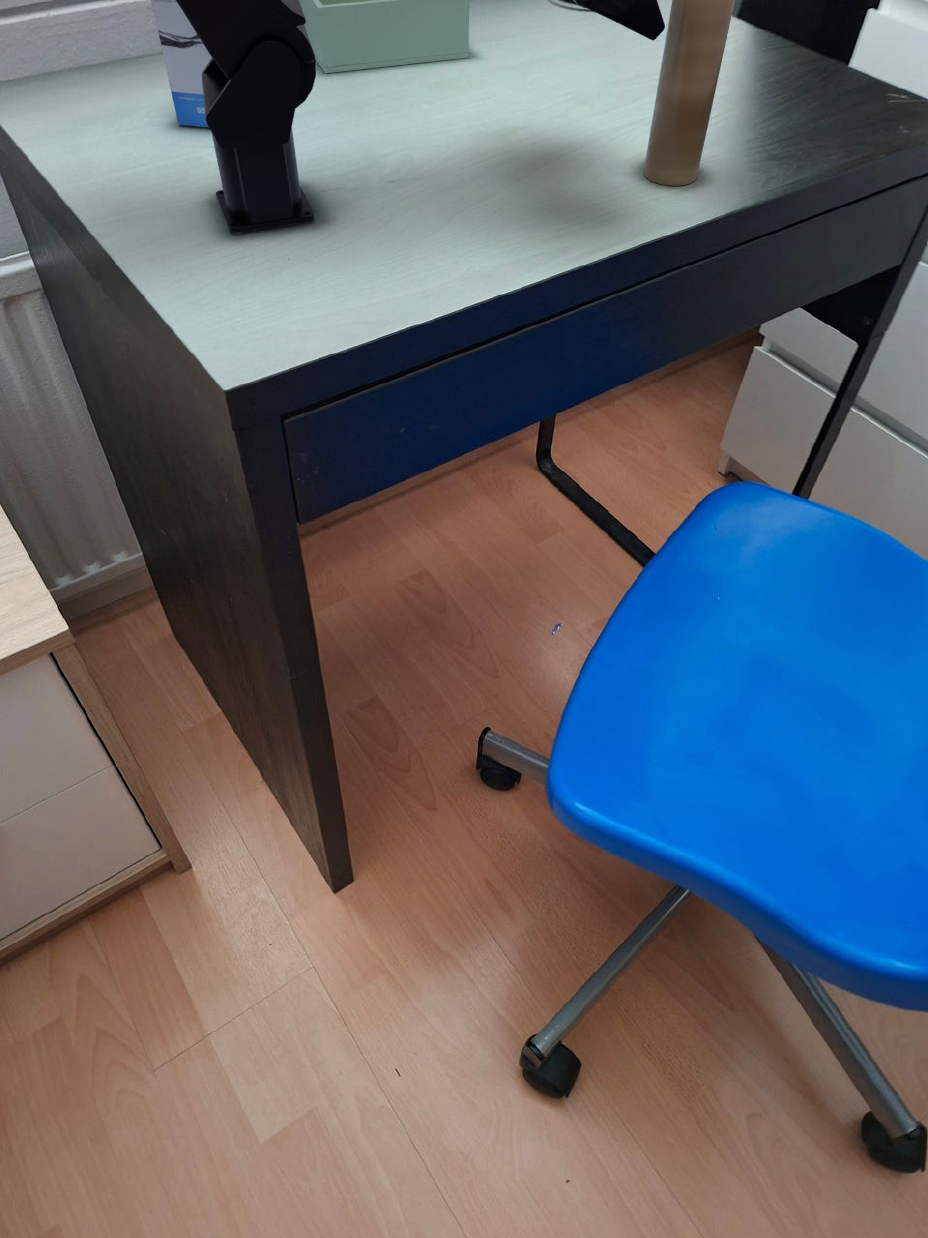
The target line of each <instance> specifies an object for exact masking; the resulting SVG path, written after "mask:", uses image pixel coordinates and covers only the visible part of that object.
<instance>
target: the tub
mask: <svg viewBox="0 0 928 1238" xmlns="http://www.w3.org/2000/svg"><path fill="white" fill-rule="evenodd" d="M299 2H300V5H301V8H302V10H303V13H304V16H305V19H306V23H305V24H304V26H305V29H306V32H307V34H308V37H309V40H310V43H311V46H312V49H313V52H314V55H315V59H316V63H317V64H318V66H319V67H320V69H322V71H323V73H324V74H332V73H333V74H334V73H342V72H352V71H360V70H368V69H377V68H378V69H379V68H386V67H387V68H388V67H395V66H396V67H397V66H405V65H413V64H414V65H415V64H422V63H423V64H424V63H432V62H439V61H440V62H441V61H449V60H456V59H457V60H458V59H468V58H469V57H470V56H469V54H470V53H469V51H470V49H469V48H470V43H469V42H470V0H299Z"/></svg>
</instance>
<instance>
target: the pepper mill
mask: <svg viewBox="0 0 928 1238" xmlns="http://www.w3.org/2000/svg"><path fill="white" fill-rule="evenodd" d="M735 2H736V0H671V6H670V10H669V17H668V22H667V27H666V34H665V41H664V45H663V53H662V60H661V64H660V70H659V76H658V82H657V87H656V94H655V101H654V107H653V111H652V112H653V113H652V119H651V125H650V129H649V130H650V131H649V137H648V143H647V148H646V155H645V161H644V166H643V175H644V177H645V178H646V179H647V180H649V181H651V182H653V183H656V184H659V185H663V186H671V187H679V186H680V187H681V186H686V185H689V184H693V183H694V182H695V181H696V180H697V179H698V175H699V170H700V165H701V161H702V155H703V150H704V146H705V141H706V136H707V133H708V128H709V122H710V117H711V114H712V108H713V105H714V100H715V95H716V90H717V85H718V81H719V77H720V71H721V69H722V68H721V67H722V62H723V58H724V53H725V50H726V43H727V39H728V35H729V31H730V25H731V21H732V16H733V11H734V7H735Z"/></svg>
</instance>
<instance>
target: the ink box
mask: <svg viewBox="0 0 928 1238" xmlns="http://www.w3.org/2000/svg"><path fill="white" fill-rule="evenodd" d="M150 1H151V6H152V9H153V15H154V20H155V24H156V28H157V33H158V38H159V42H160V46H161V52H162V56H163V60H164V65H165V70H166V75H167V78H168V83H169V89H170V93H171V97H172V102H173V107H174V111H175V116H176V122H177V124H178V125H181V126H191V127H193V126H194V127H202V128H203V127H204V128H209V126H208V124H207V123H206V118H205V108H204V97H203V87H202V72H203V70H204V69H205V67H206V66H207V64H208V63H209V61H210V60H211V58H212V57H211V55H210V54H209V52H208V51H207V49H206V48H205V46H204V44H203V43H202V41H201V40H200V38H199V36H198V35H197V33H196V32H195V30H194V28H193V27H192V25H191V24H190V22H189V20H188V19H187V17H186V16H185V14H184V12H183V11H182V9H181V7H180V6H179V4H178V3H177V2H176V0H150Z"/></svg>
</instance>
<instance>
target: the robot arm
mask: <svg viewBox="0 0 928 1238" xmlns="http://www.w3.org/2000/svg"><path fill="white" fill-rule="evenodd" d="M573 1H574V2H575V4H577V6H578V7H581V8H583V9H587V10H589V11H591V12H594V13H595V14H598V15H599V16H602V17H604V18H606V19H608V20H610V21H612V22H614V23H617V24H618V25H621V26H623V27H624V28H627V29H628V30H630V31H633V32H634V33H637V34H639V35H640V36H642V37H644V38H646V39H648V40H651V41H655V40H656V39H657V38H658V37H659V36H660V35H662V33H663V32H664V31H665V29H666V24H665V21H664V18H663V15H662V11H661V9H660V5H659V2H658V0H573ZM176 2H177V3H178V4H179V6H180V7H181V9H182V11H183V12H184V14H185V16H186V17H187V19H188V20H189V22H190V24H191V25H192V27H193V28H194V30H195V32H196V33H197V35H198V36H199V38H200V40H201V41H202V43H203V44H204V46H205V48H206V49H207V51H208V52H209V54H210V55H211V57H212V58H211V60H210V61H209V63H208V64H207V66H206V67H205V69H204V70H203V72H202V87H203V97H204V108H205V118H206V123H207V124H208V126H209V127H208V128H209V130H210V132H211V137H212V142H213V147H214V151H215V157H216V161H217V167H218V172H219V176H220V177H219V178H220V181H221V182H220V183H221V186H222V189H219V190H217V191H215V197H216V200H217V203H218V207H219V209H220V211H221V214H222V217H223V219H224V222H225V224H226V227H227V230H228V231H229V233H231V234H239V233H246V232H251V231H258V230H265V229H272V228H278V227H287V226H291V225H299V224H304V223H311V222H314V221H315V220H316V217H315V211H314V210H313V208H312V206H311V204H310V202H309V200H308V198H307V196H306V194H305V192H304V190H303V189H302V187H301V184H300V176H299V169H298V163H297V155H296V147H295V140H294V139H295V138H294V132H293V123H294V118H295V113H296V109H297V108H298V107H300V106H301V105H302V104H303V103H305V102H306V100H307V99H308V97H309V96H310V94H311V93H312V91H313V89H314V85H315V81H316V78H317V61H316V59H315V55H314V52H313V49H312V46H311V43H310V40H309V37H308V34H307V32H306V29H305V26H304V24H305V23H306V19H305V16H304V13H303V10H302V8H301V5H300V2H299V0H176Z"/></svg>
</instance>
